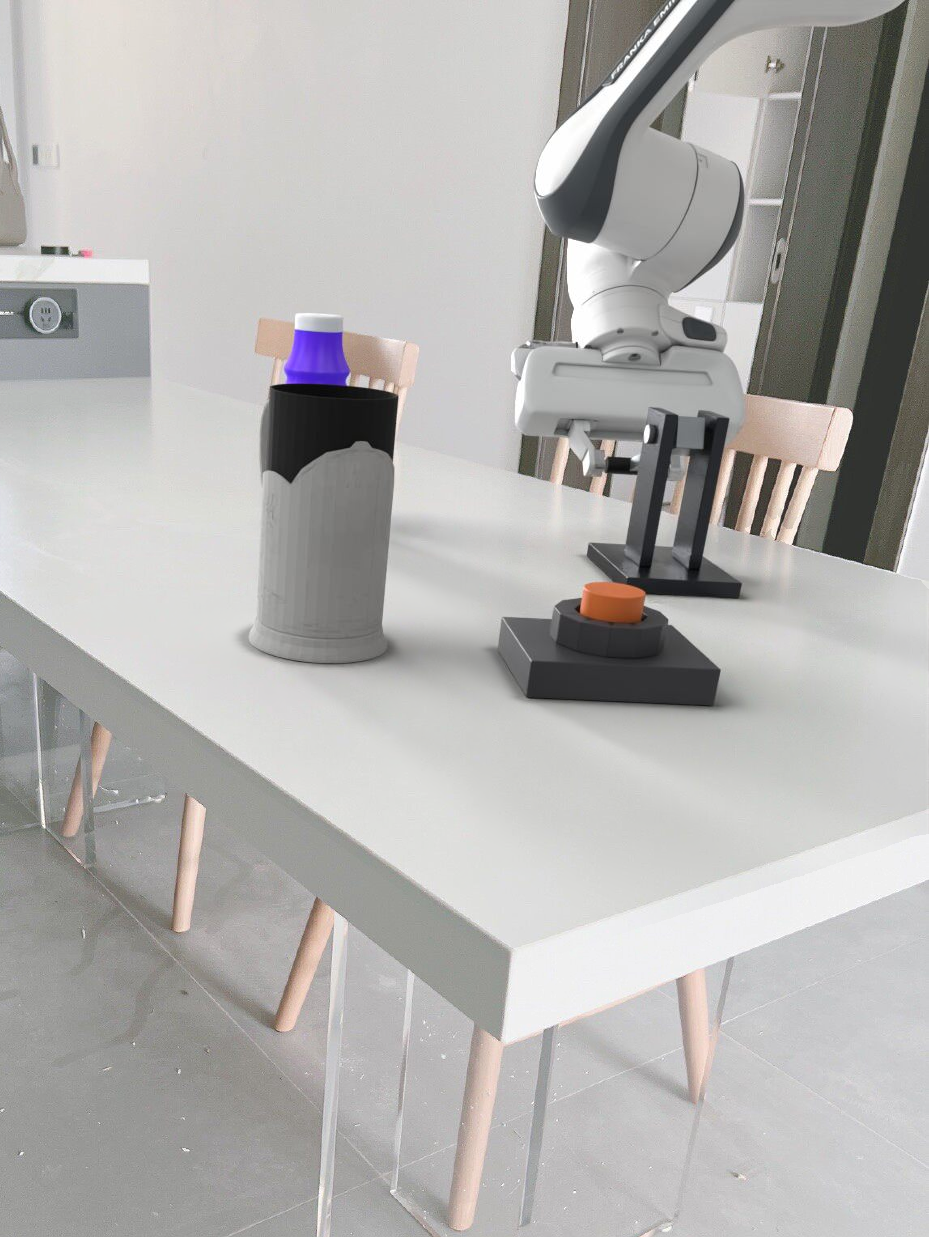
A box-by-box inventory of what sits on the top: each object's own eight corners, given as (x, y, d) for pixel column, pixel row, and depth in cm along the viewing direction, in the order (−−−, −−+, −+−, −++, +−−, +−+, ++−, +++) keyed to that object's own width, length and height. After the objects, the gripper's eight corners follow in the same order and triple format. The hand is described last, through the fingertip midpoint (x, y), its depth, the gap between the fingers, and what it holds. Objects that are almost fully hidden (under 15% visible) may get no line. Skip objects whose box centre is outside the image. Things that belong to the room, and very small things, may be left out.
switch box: (665, 657, 78) (677, 596, 77) (713, 706, 70) (728, 638, 68) (497, 649, 77) (505, 588, 76) (525, 697, 69) (535, 629, 68)
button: (631, 611, 74) (635, 583, 73) (648, 628, 71) (653, 599, 70) (572, 608, 74) (577, 580, 73) (587, 625, 70) (592, 596, 70)
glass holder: (283, 668, 71) (297, 399, 65) (197, 603, 83) (202, 370, 76) (412, 656, 75) (437, 401, 69) (313, 596, 86) (327, 373, 80)
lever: (602, 480, 107) (604, 452, 107) (658, 483, 107) (659, 455, 107) (657, 446, 93) (660, 414, 93) (721, 450, 93) (723, 418, 93)
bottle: (314, 533, 105) (327, 317, 98) (259, 522, 108) (268, 311, 101) (356, 521, 111) (371, 316, 104) (303, 511, 114) (314, 311, 107)
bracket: (586, 556, 104) (610, 399, 99) (688, 561, 105) (718, 406, 99) (625, 592, 93) (654, 419, 88) (739, 598, 94) (775, 426, 89)
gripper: (518, 314, 107) (526, 445, 102) (743, 329, 109) (762, 459, 104) (502, 363, 113) (509, 489, 108) (716, 377, 115) (732, 502, 110)
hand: (635, 475), depth 106 cm, fingers open, 6 cm apart
